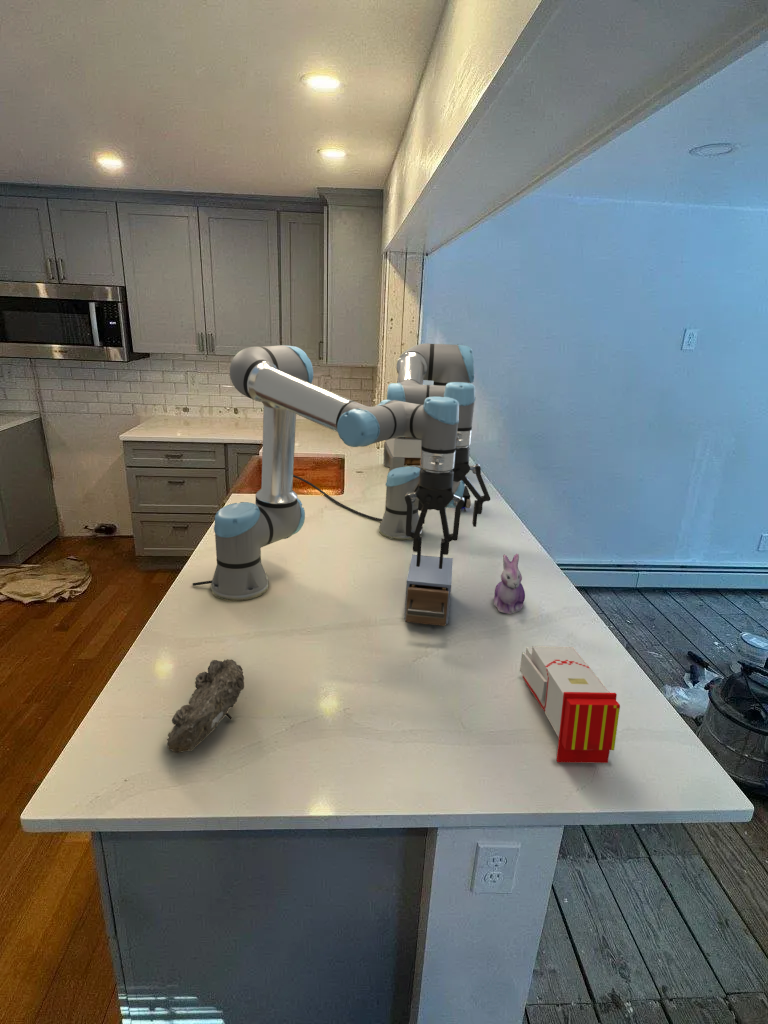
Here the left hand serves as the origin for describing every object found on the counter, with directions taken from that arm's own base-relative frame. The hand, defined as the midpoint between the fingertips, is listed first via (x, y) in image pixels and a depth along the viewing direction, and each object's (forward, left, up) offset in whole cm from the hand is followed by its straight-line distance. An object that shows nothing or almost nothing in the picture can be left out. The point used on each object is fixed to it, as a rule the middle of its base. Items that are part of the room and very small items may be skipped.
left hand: (429, 565), depth 133 cm
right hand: (+4, +21, +3) cm, 21 cm away
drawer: (0, +8, -18) cm, 19 cm away
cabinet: (0, +14, -19) cm, 23 cm away
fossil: (-38, -37, -19) cm, 56 cm away
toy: (+28, -24, -19) cm, 41 cm away
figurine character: (+9, +98, -19) cm, 100 cm away
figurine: (+22, +18, -19) cm, 34 cm away
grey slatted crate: (-10, +144, -19) cm, 146 cm away
